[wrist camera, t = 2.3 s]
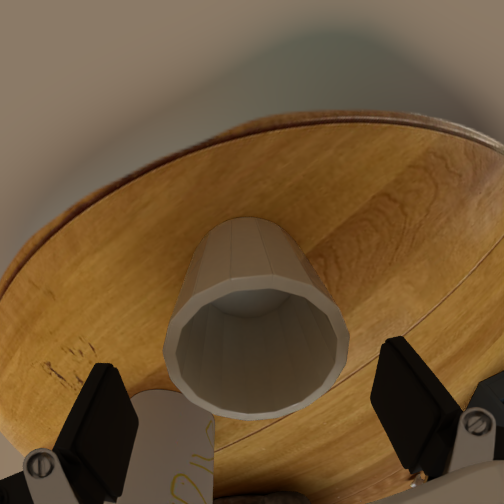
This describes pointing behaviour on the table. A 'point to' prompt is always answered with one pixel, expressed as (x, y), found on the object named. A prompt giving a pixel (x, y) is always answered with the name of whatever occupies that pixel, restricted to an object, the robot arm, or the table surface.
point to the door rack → (491, 397)
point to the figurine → (416, 481)
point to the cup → (170, 452)
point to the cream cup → (253, 325)
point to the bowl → (266, 499)
